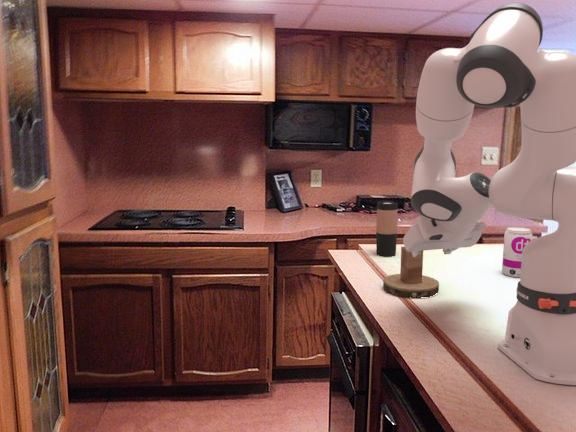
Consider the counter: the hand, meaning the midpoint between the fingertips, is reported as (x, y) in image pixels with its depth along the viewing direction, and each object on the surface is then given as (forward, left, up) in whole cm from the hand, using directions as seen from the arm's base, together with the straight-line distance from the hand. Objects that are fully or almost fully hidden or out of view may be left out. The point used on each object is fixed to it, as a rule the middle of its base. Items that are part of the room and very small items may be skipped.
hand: (430, 253), depth 136 cm
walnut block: (+10, +3, -11) cm, 15 cm away
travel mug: (+52, +6, -14) cm, 54 cm away
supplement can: (+28, -33, -14) cm, 45 cm away
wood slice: (+10, +3, -14) cm, 17 cm away
